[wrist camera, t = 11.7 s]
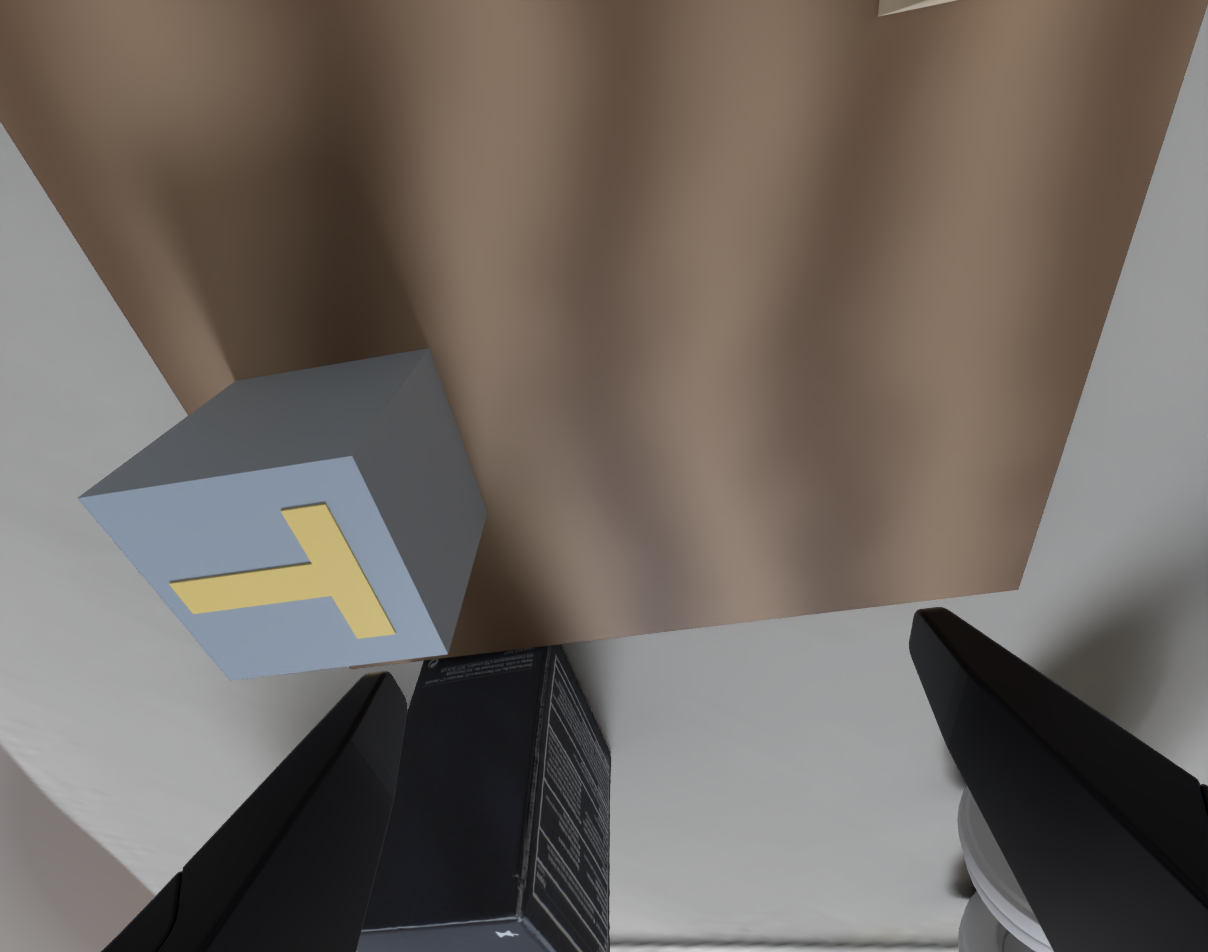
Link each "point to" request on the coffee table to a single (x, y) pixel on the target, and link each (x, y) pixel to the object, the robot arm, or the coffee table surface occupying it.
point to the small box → (496, 814)
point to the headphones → (993, 893)
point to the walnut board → (637, 262)
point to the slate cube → (306, 518)
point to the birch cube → (905, 5)
